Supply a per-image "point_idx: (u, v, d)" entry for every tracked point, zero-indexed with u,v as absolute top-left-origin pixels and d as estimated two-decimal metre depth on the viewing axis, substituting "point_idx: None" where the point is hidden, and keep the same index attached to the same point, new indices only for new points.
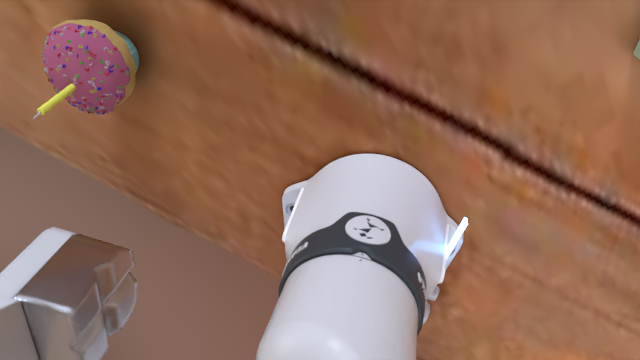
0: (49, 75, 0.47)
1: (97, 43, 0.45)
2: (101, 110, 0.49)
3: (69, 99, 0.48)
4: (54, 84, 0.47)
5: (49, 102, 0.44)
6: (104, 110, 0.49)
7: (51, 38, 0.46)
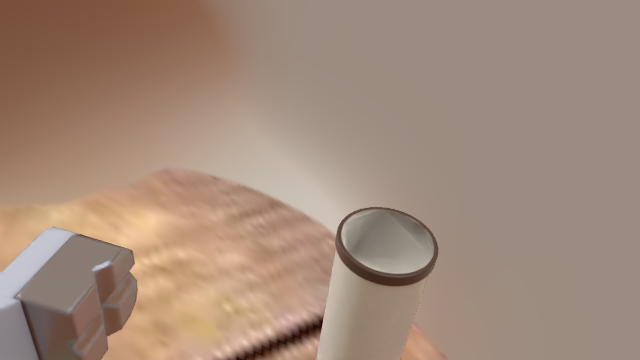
0: None
1: None
2: None
3: None
4: None
5: None
6: None
7: None
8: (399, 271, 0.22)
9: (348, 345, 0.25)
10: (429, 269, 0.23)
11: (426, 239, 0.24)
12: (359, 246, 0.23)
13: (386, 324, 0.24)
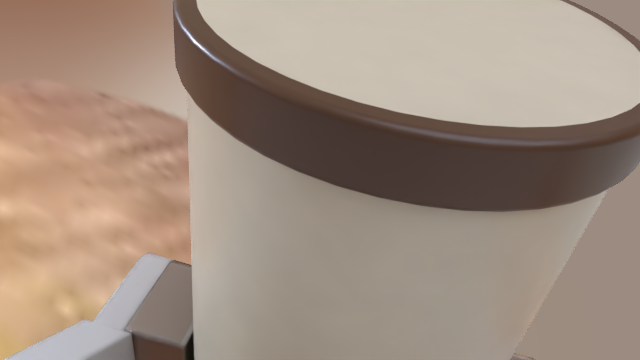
0: None
1: None
2: None
3: None
4: None
5: None
6: None
7: None
8: (508, 118, 0.04)
9: None
10: None
11: (588, 25, 0.05)
12: (277, 18, 0.04)
13: None
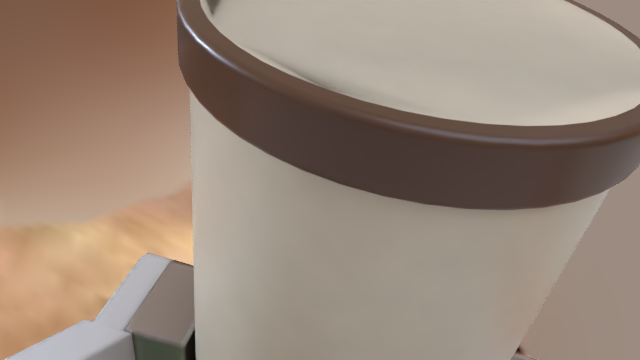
0: None
1: None
2: None
3: None
4: None
5: None
6: None
7: None
8: (512, 117, 0.04)
9: None
10: None
11: (590, 25, 0.05)
12: (280, 18, 0.04)
13: None
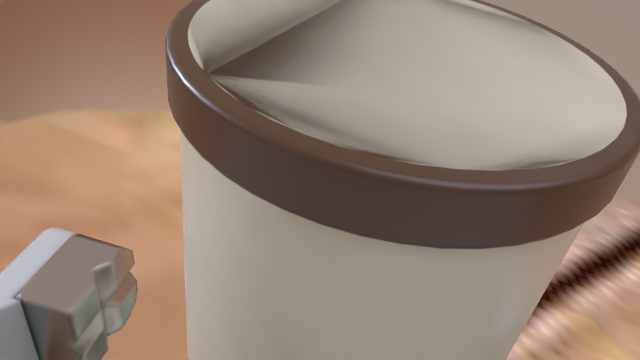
0: None
1: None
2: None
3: None
4: None
5: None
6: None
7: None
8: (484, 161, 0.04)
9: None
10: (632, 162, 0.04)
11: (569, 57, 0.06)
12: (265, 56, 0.05)
13: None
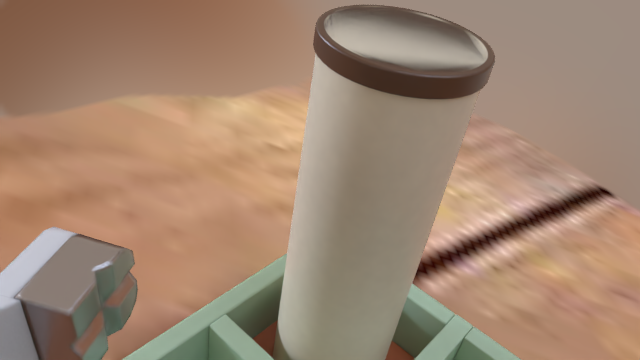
0: None
1: None
2: None
3: None
4: None
5: None
6: None
7: None
8: (431, 70, 0.12)
9: (333, 235, 0.15)
10: (483, 75, 0.12)
11: (472, 41, 0.14)
12: (355, 38, 0.13)
13: (401, 188, 0.14)
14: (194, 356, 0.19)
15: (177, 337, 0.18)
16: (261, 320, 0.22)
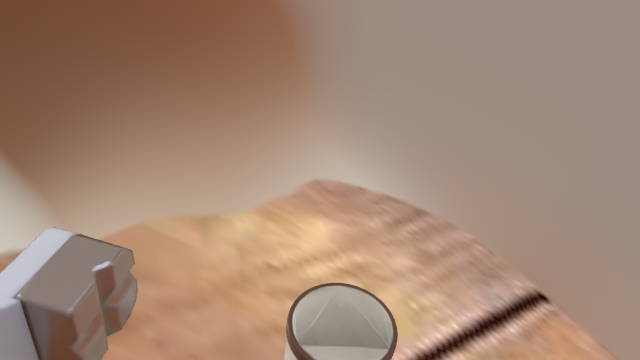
0: None
1: None
2: None
3: None
4: None
5: None
6: None
7: None
8: None
9: None
10: None
11: (385, 323, 0.22)
12: (310, 335, 0.21)
13: None
14: None
15: None
16: None
